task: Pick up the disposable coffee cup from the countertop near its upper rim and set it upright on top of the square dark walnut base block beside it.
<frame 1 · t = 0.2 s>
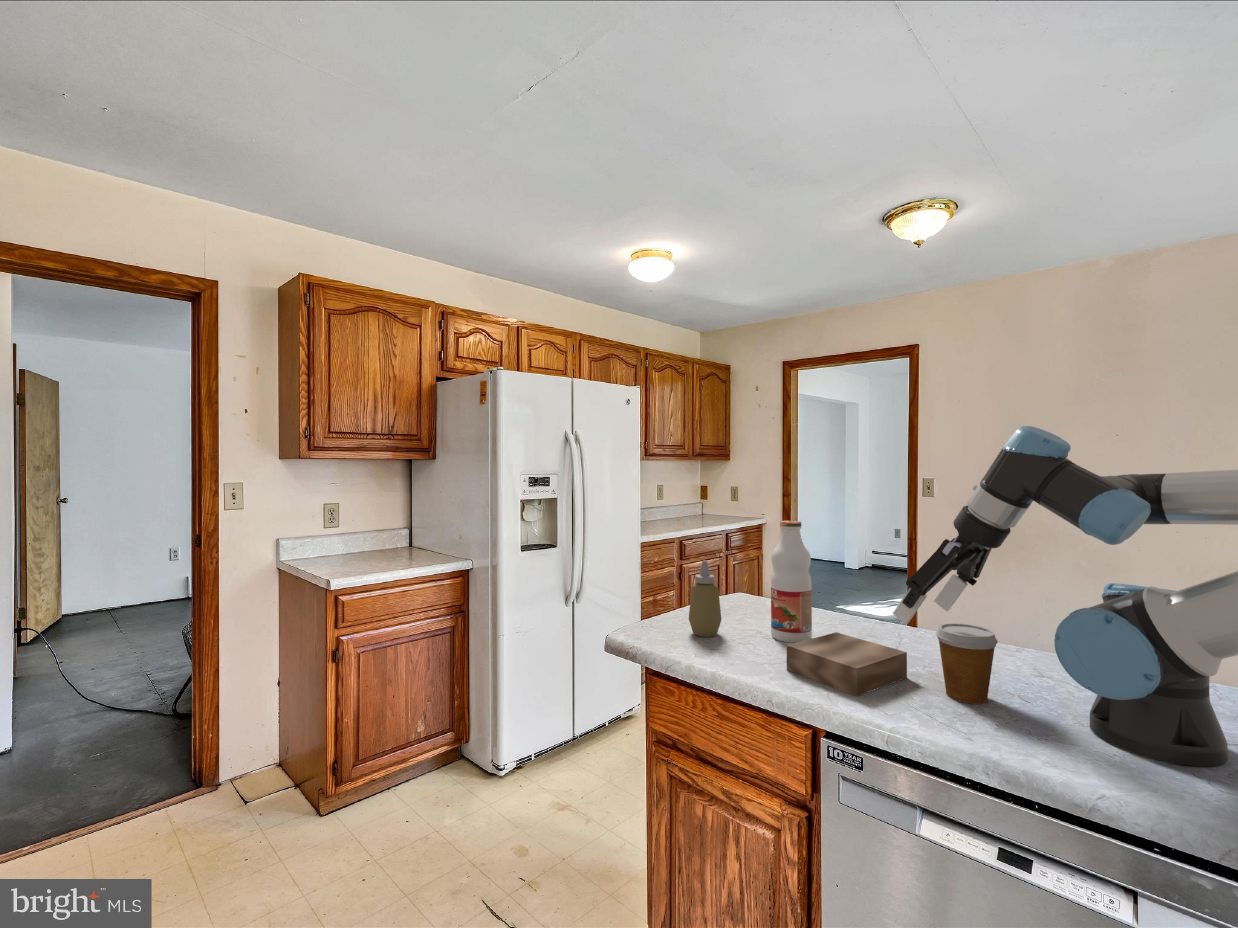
hand: (921, 612, 103), 15 cm above the worktop, tool tilted 30°, fingers open, 13 cm apart
squeeze bottle: (705, 634, 142), on the worktop
disposable coffee cup: (966, 697, 103), on the worktop
walnut base: (845, 673, 115), on the worktop
fruit juice: (791, 638, 139), on the worktop
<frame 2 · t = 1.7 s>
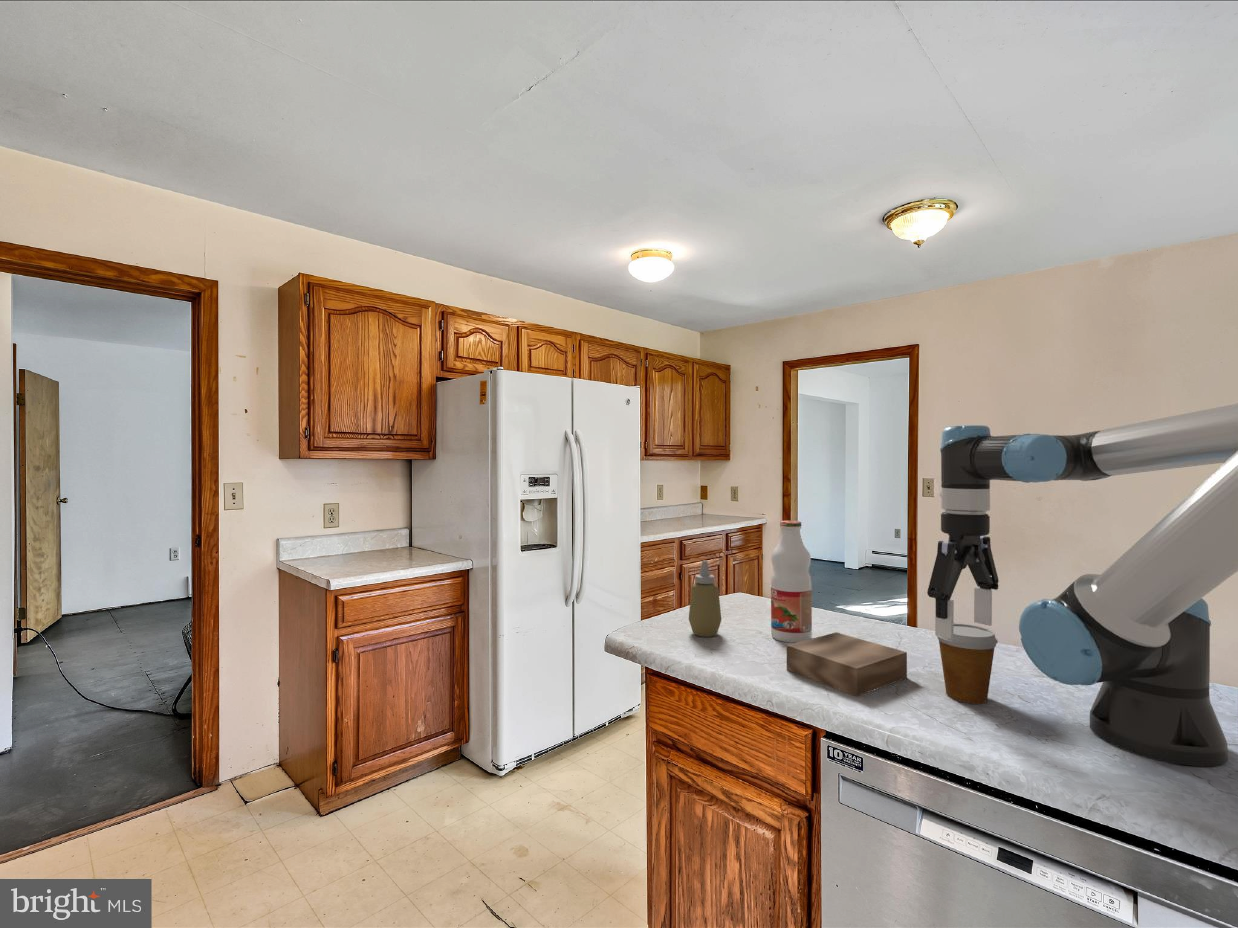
hand: (964, 630, 104), 12 cm above the worktop, tool pointing down, fingers open, 13 cm apart
nothing on the worktop moved.
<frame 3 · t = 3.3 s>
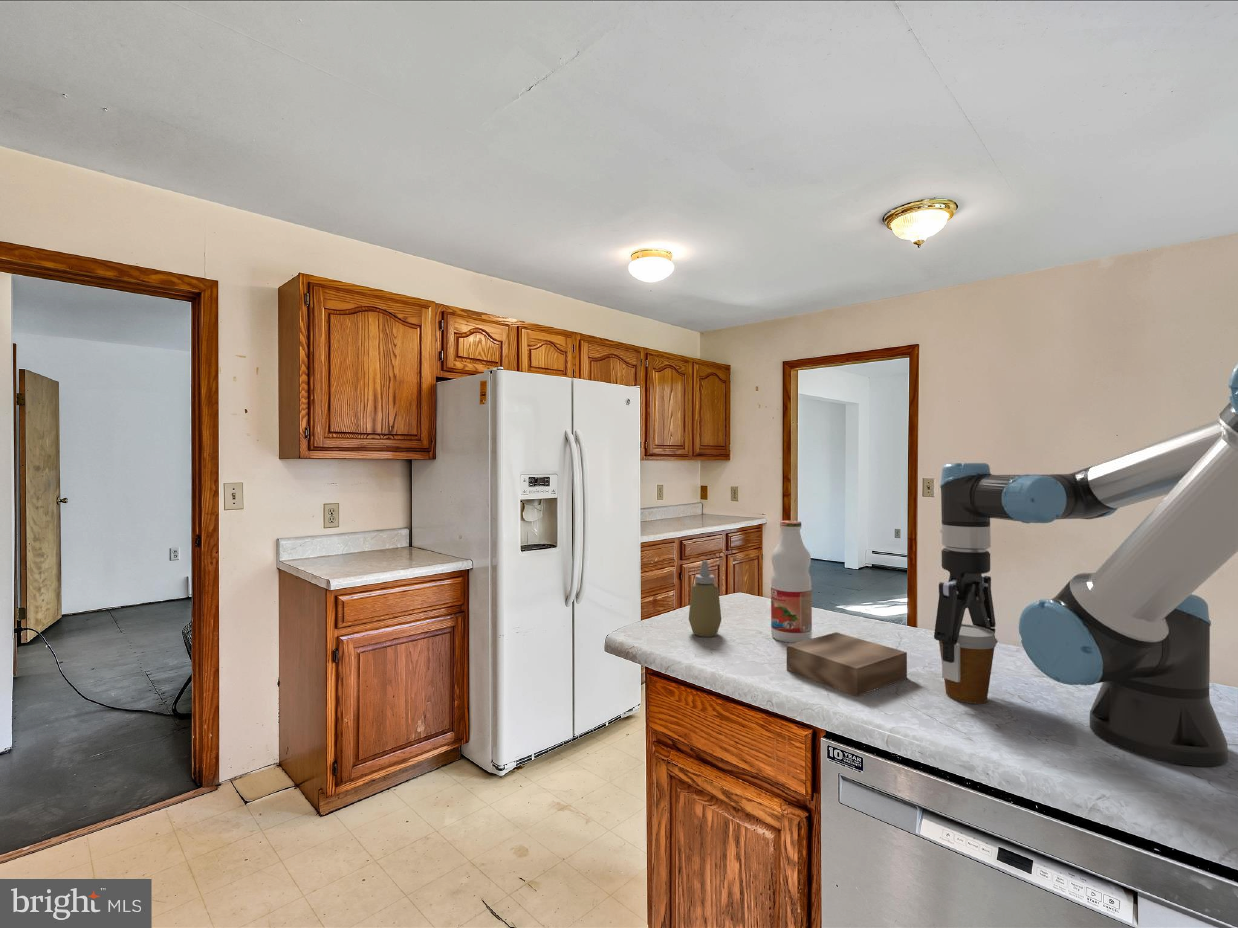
hand: (966, 673, 103), 4 cm above the worktop, tool pointing down, fingers closed on disposable coffee cup, 9 cm apart
disposable coffee cup: (966, 697, 103), on the worktop, touching gripper
everything else where it was.
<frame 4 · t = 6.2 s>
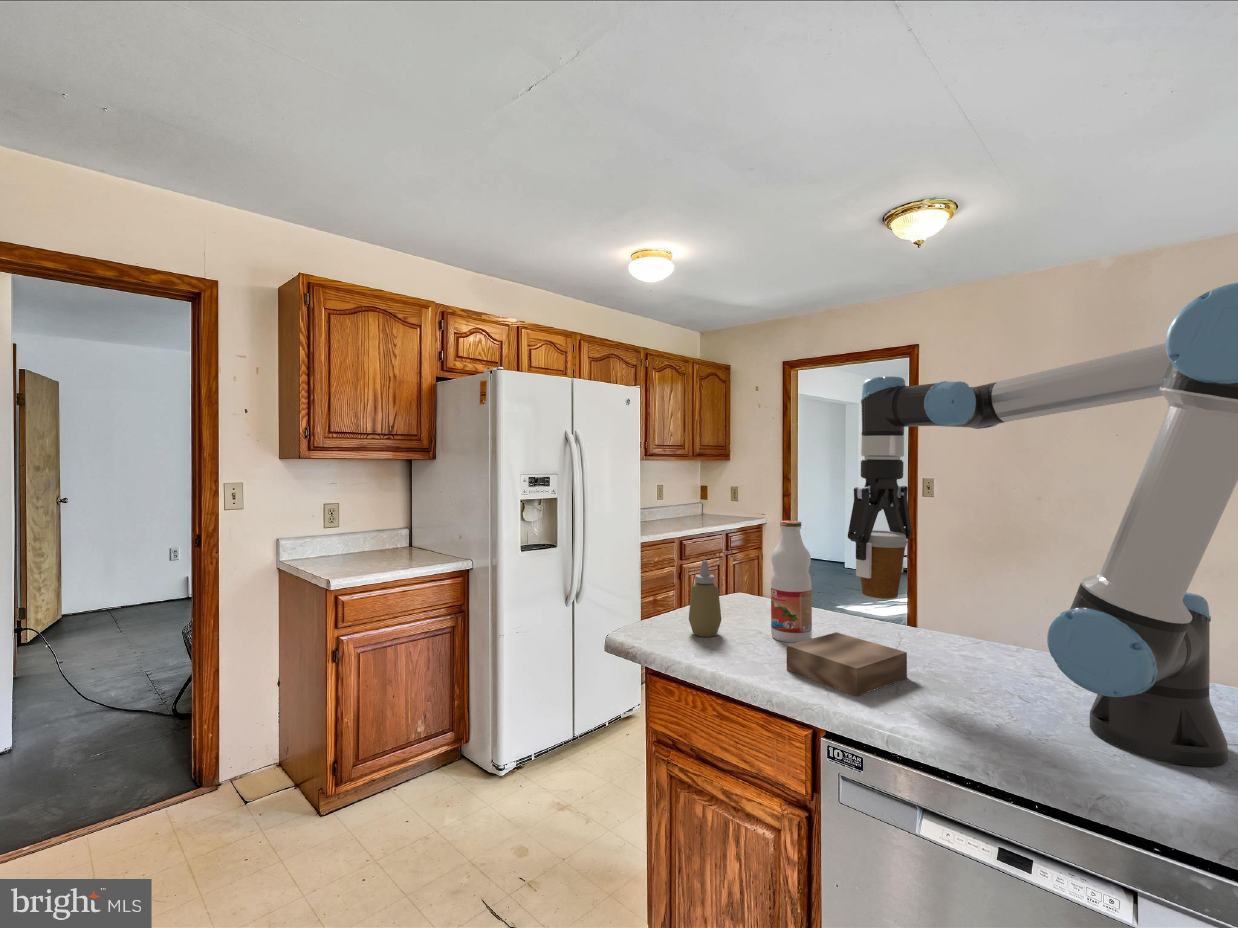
hand: (879, 573, 112), 20 cm above the worktop, tool pointing down, fingers closed on disposable coffee cup, 9 cm apart
disposable coffee cup: (879, 595, 112), point 16 cm above the worktop, touching gripper
everything else where it was.
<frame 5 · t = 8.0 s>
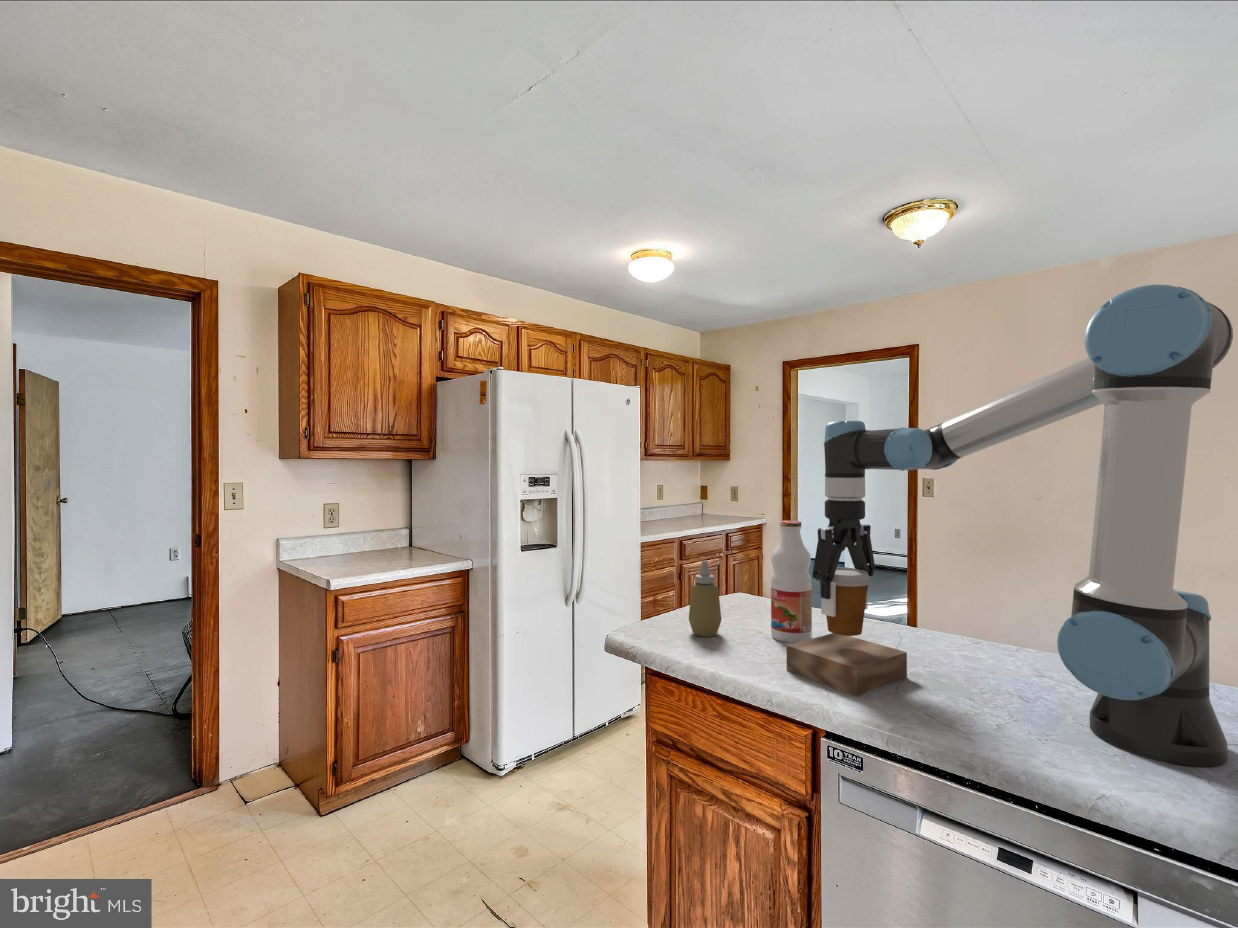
hand: (844, 611, 115), 12 cm above the worktop, tool pointing down, fingers closed on disposable coffee cup, 9 cm apart
disposable coffee cup: (844, 632, 115), point 8 cm above the worktop, touching gripper
everything else where it was.
when the fingers open (10 cm above the worktop, at t = 9.4 s): disposable coffee cup stays where it is, resting on walnut base.
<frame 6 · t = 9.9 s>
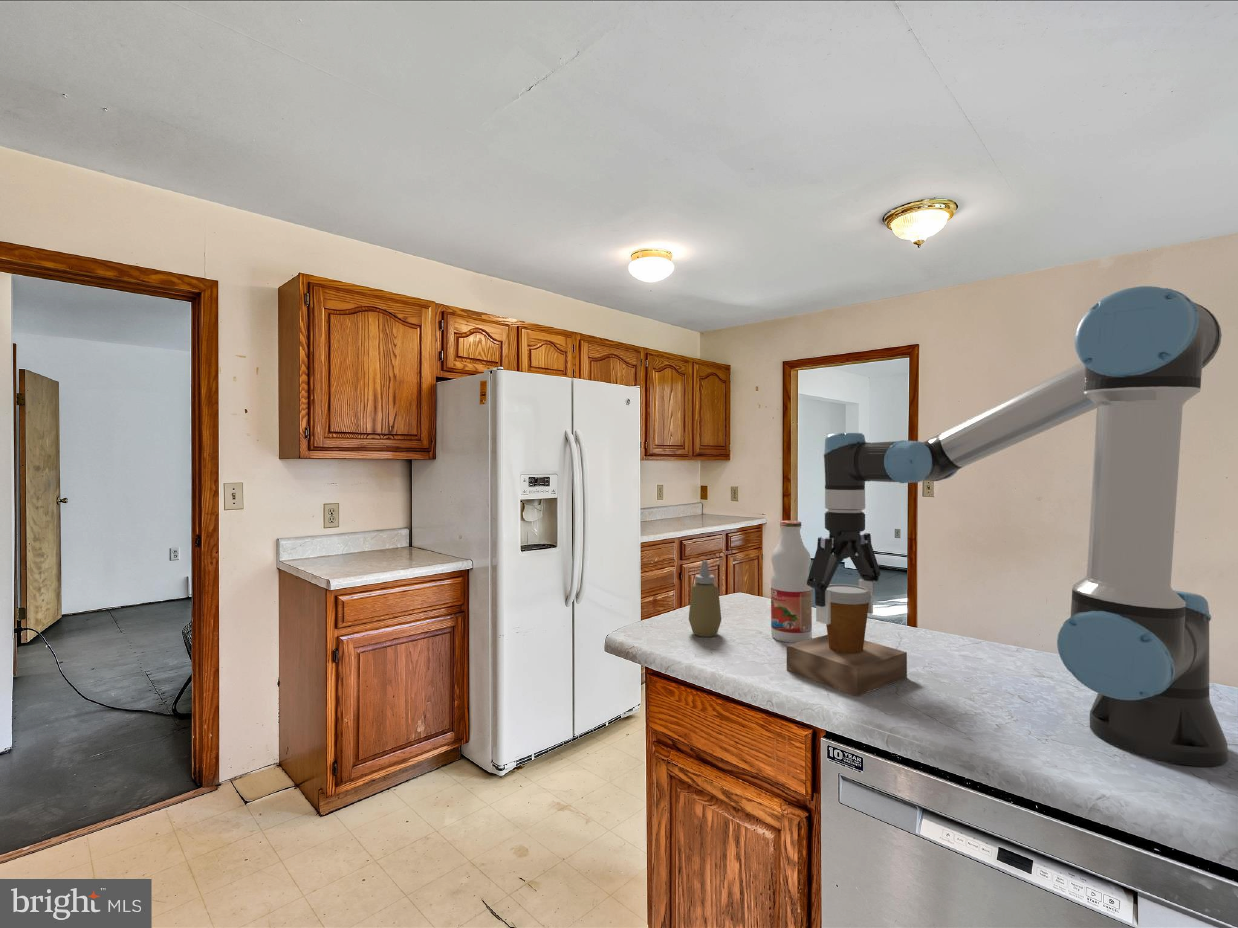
hand: (845, 617, 115), 11 cm above the worktop, tool pointing down, fingers open, 13 cm apart
disposable coffee cup: (845, 649, 115), point 5 cm above the worktop, touching walnut base
everything else where it was.
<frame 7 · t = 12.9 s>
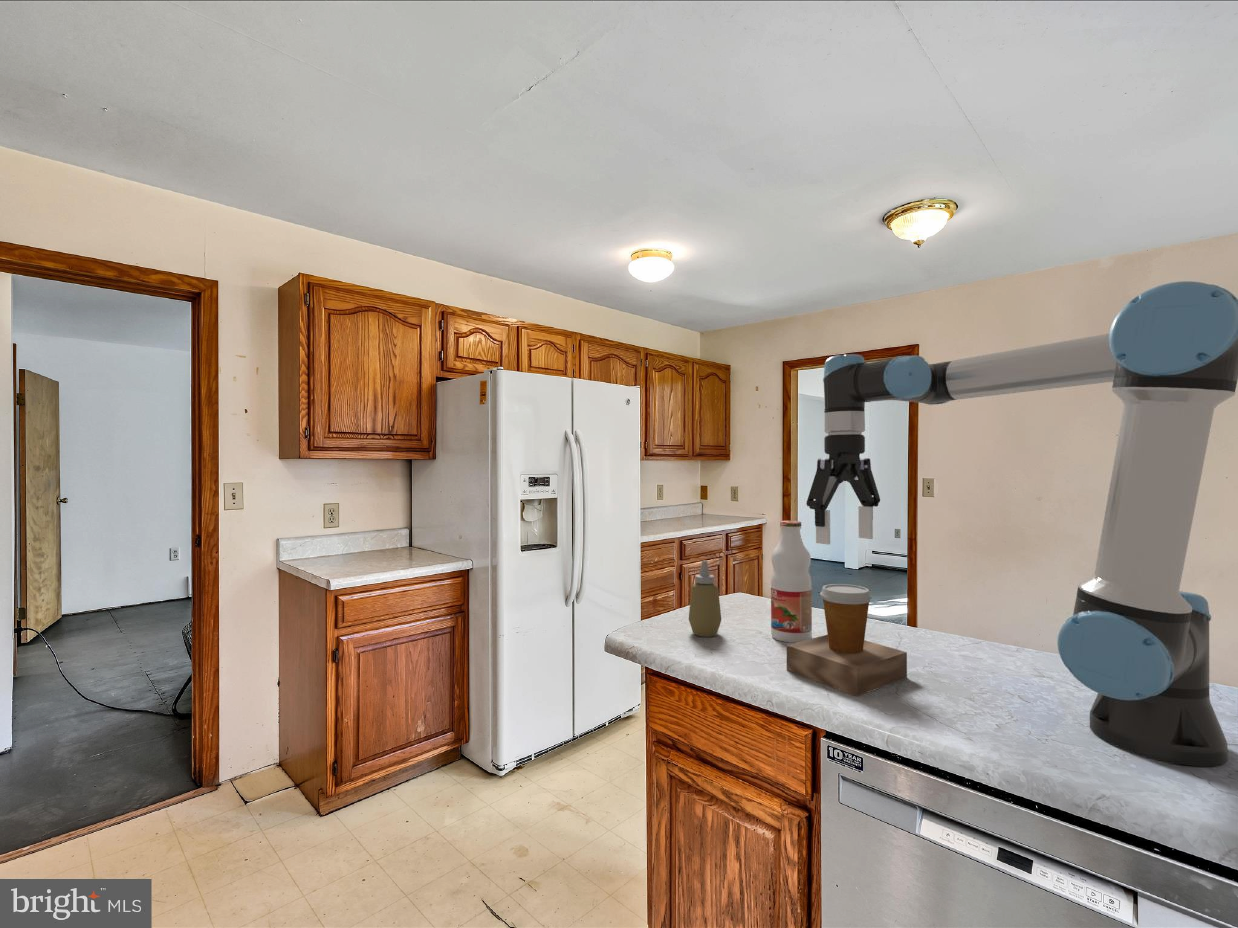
hand: (845, 541, 115), 26 cm above the worktop, tool pointing down, fingers open, 13 cm apart
nothing on the worktop moved.
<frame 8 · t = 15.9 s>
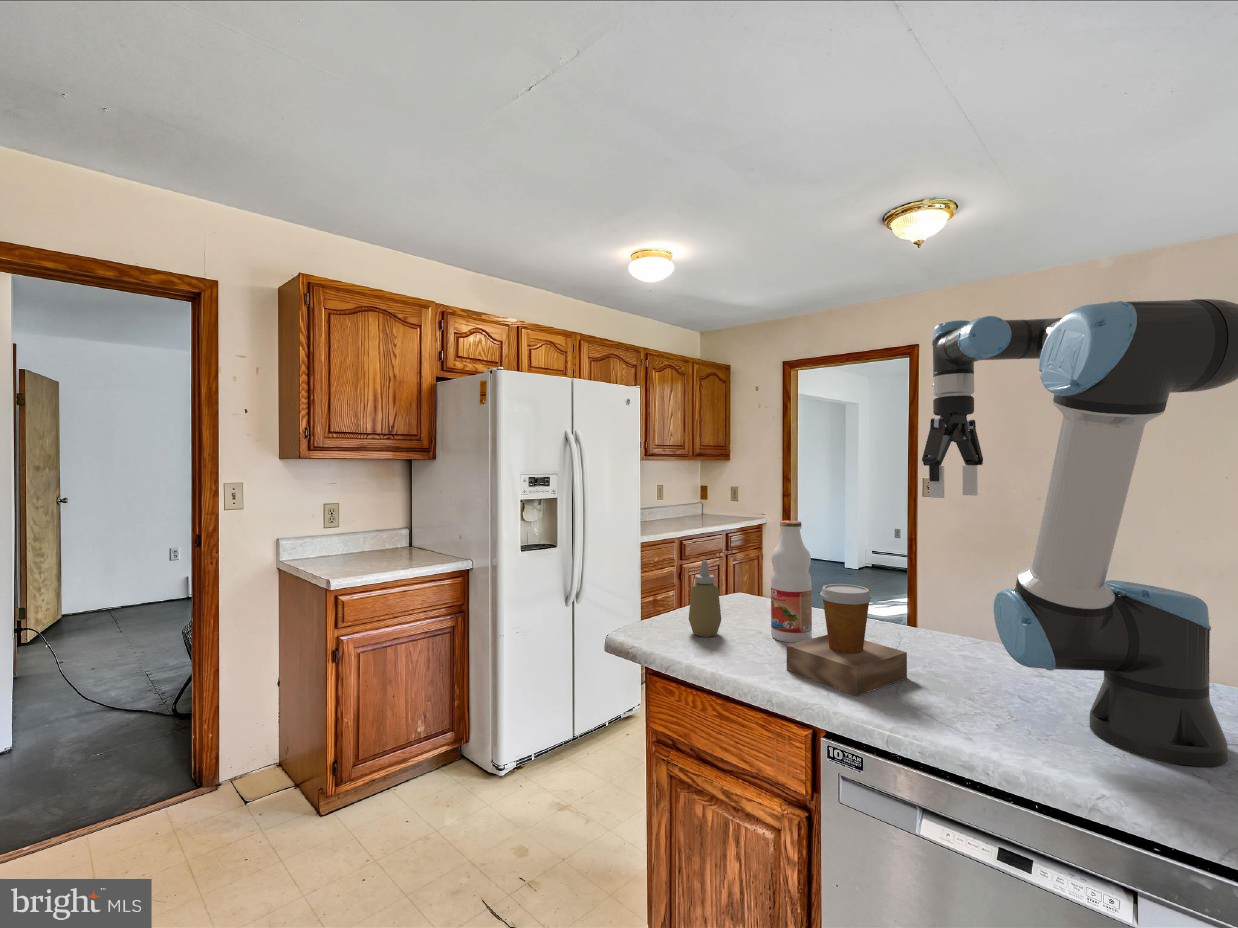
hand: (953, 496, 122), 35 cm above the worktop, tool pointing down, fingers open, 13 cm apart
nothing on the worktop moved.
at the end: disposable coffee cup inside the target area on the walnut base (0.1 cm from its centre), point 4.8 cm above the walnut base's base; disposable coffee cup tilted 0°; the gripper is holding nothing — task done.
